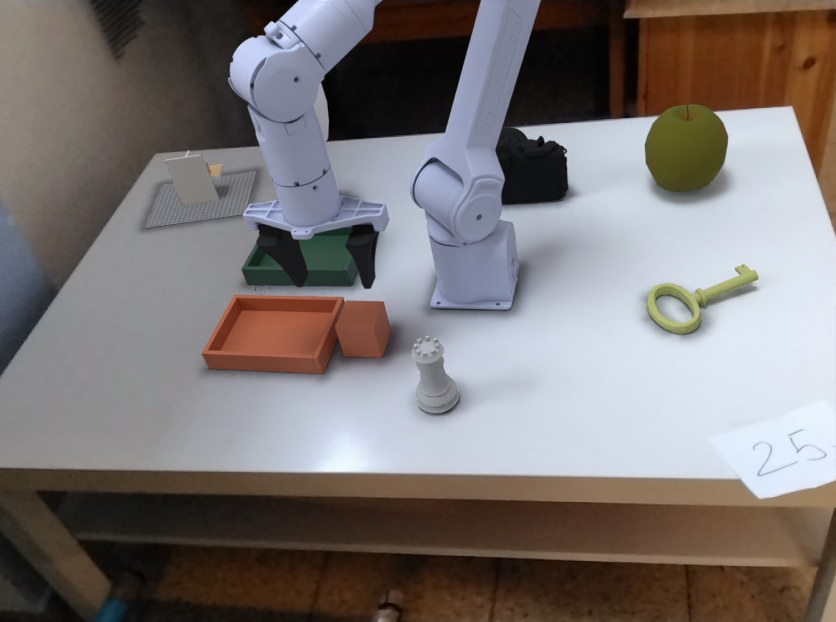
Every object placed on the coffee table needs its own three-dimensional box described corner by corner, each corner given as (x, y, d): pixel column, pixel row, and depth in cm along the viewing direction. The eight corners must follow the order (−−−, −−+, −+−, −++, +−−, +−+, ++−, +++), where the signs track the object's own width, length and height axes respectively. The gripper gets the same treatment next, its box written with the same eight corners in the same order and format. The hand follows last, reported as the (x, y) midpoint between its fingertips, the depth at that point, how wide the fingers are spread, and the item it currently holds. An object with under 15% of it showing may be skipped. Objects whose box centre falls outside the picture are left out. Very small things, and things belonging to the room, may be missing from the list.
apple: (678, 215, 101) (683, 135, 93) (627, 183, 107) (628, 105, 100) (740, 183, 103) (751, 102, 96) (687, 153, 110) (692, 75, 102)
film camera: (570, 163, 113) (567, 101, 106) (568, 204, 106) (565, 142, 100) (461, 169, 116) (452, 110, 110) (452, 210, 110) (442, 150, 103)
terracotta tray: (348, 312, 98) (343, 296, 97) (323, 374, 92) (317, 358, 90) (240, 309, 102) (234, 294, 100) (208, 368, 95) (201, 353, 94)
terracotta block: (391, 330, 95) (384, 300, 92) (382, 358, 92) (373, 328, 89) (355, 329, 96) (346, 300, 93) (344, 356, 93) (334, 327, 90)
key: (761, 286, 90) (763, 270, 89) (680, 341, 86) (681, 326, 85) (710, 257, 95) (711, 242, 93) (631, 309, 91) (631, 294, 90)
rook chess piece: (429, 422, 84) (416, 367, 79) (410, 396, 87) (396, 341, 82) (467, 403, 85) (457, 347, 80) (447, 378, 88) (435, 322, 82)
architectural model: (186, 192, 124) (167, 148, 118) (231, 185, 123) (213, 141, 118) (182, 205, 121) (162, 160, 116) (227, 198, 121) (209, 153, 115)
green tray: (373, 235, 108) (368, 219, 107) (351, 286, 102) (346, 270, 100) (274, 235, 112) (268, 220, 110) (247, 284, 105) (240, 269, 104)
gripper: (214, 195, 77) (259, 305, 86) (361, 194, 73) (391, 309, 82) (242, 153, 81) (282, 262, 91) (382, 150, 77) (408, 264, 87)
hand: (335, 282), depth 87 cm, fingers open, 7 cm apart
